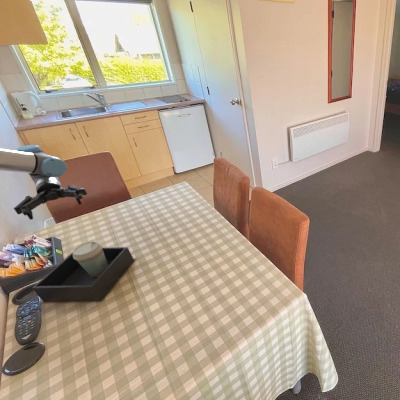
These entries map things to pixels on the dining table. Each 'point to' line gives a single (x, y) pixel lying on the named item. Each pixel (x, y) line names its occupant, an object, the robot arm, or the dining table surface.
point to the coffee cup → (91, 257)
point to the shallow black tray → (83, 278)
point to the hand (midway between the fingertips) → (55, 208)
